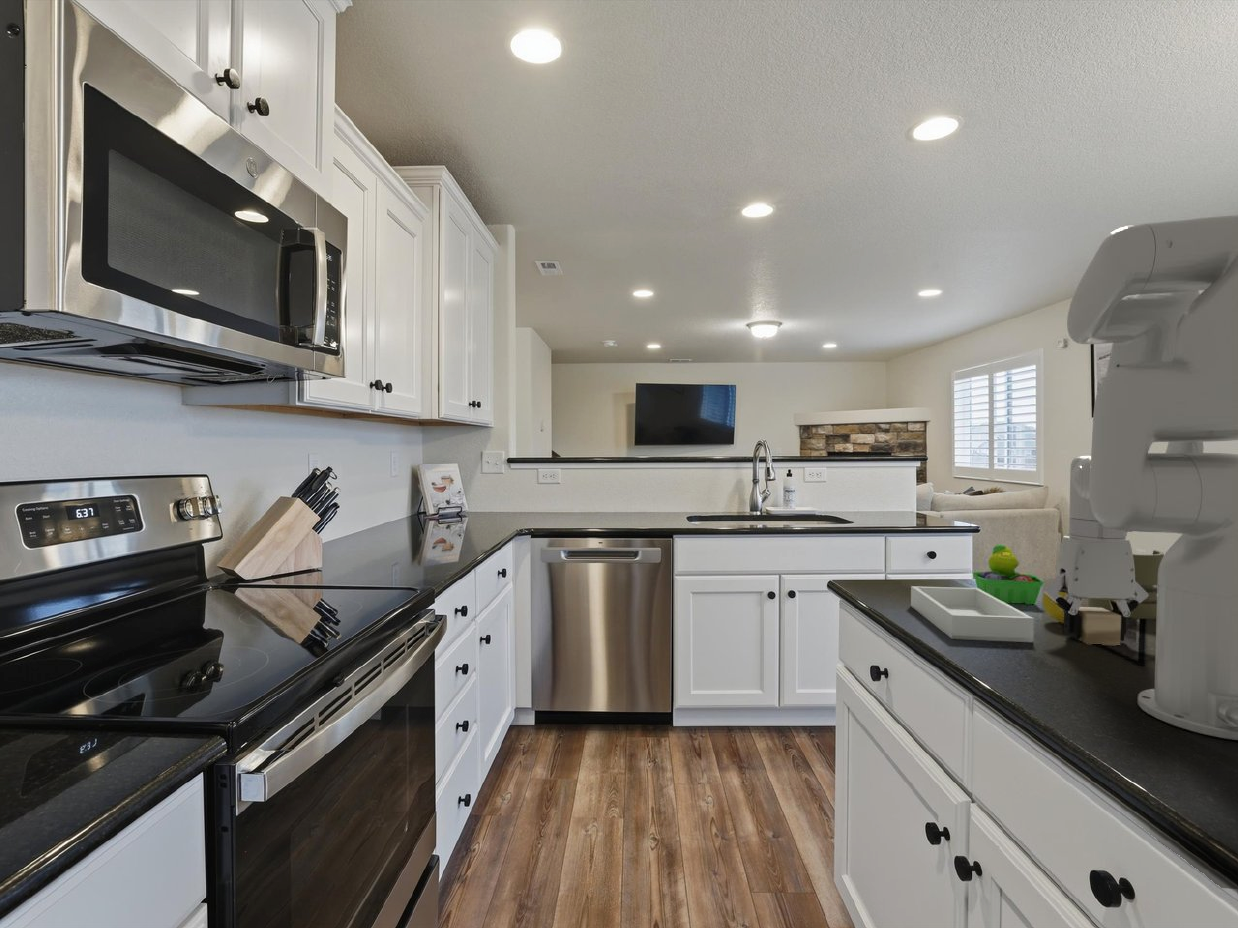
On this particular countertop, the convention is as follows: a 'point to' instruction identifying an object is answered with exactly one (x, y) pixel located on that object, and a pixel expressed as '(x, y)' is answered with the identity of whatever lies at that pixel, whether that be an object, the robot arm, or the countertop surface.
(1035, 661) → the countertop surface
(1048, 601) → the lemon
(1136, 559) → the piston
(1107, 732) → the countertop surface
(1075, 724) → the countertop surface
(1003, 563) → the fruit basket
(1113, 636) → the cube
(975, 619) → the tray
